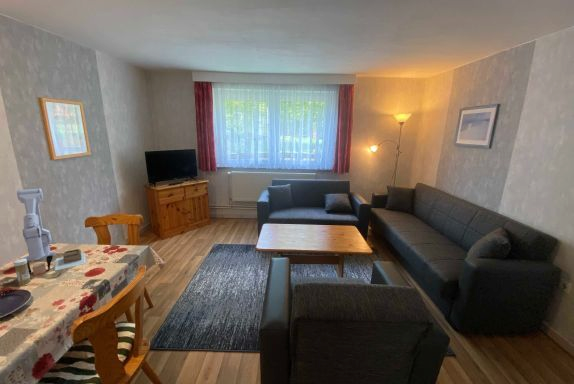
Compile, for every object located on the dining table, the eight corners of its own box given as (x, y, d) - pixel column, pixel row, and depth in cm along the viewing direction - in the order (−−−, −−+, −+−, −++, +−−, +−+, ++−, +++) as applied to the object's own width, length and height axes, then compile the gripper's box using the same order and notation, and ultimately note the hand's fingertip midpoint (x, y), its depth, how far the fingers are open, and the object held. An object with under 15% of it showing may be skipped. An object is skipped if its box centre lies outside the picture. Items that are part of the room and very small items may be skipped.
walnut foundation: (64, 258, 154) (63, 251, 153) (81, 254, 159) (80, 248, 158) (64, 263, 148) (63, 256, 147) (81, 259, 153) (80, 253, 152)
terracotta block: (35, 273, 139) (33, 264, 138) (46, 270, 142) (44, 262, 141) (34, 276, 135) (32, 268, 134) (45, 274, 138) (44, 265, 137)
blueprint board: (56, 260, 153) (55, 258, 152) (85, 254, 162) (85, 252, 161) (54, 272, 140) (54, 270, 140) (86, 264, 149) (86, 263, 149)
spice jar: (30, 285, 128) (25, 261, 125) (17, 287, 126) (11, 263, 123) (32, 280, 132) (27, 257, 129) (20, 283, 129) (15, 259, 126)
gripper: (14, 254, 128) (19, 278, 131) (53, 247, 137) (57, 270, 140) (16, 249, 133) (21, 272, 136) (53, 243, 142) (57, 264, 145)
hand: (39, 271), depth 138 cm, fingers open, 7 cm apart
